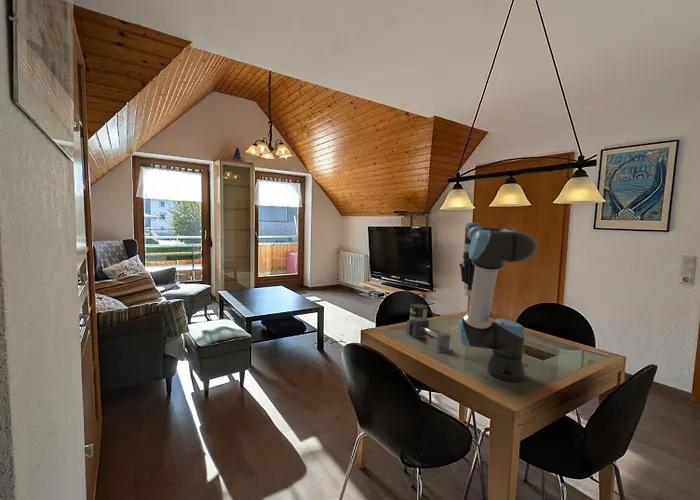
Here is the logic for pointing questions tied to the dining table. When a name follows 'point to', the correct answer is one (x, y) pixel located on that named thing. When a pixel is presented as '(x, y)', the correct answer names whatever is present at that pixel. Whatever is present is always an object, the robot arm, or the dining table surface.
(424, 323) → the collar
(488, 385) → the dining table surface
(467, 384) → the dining table surface
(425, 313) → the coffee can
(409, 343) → the dining table surface
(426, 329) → the rail
